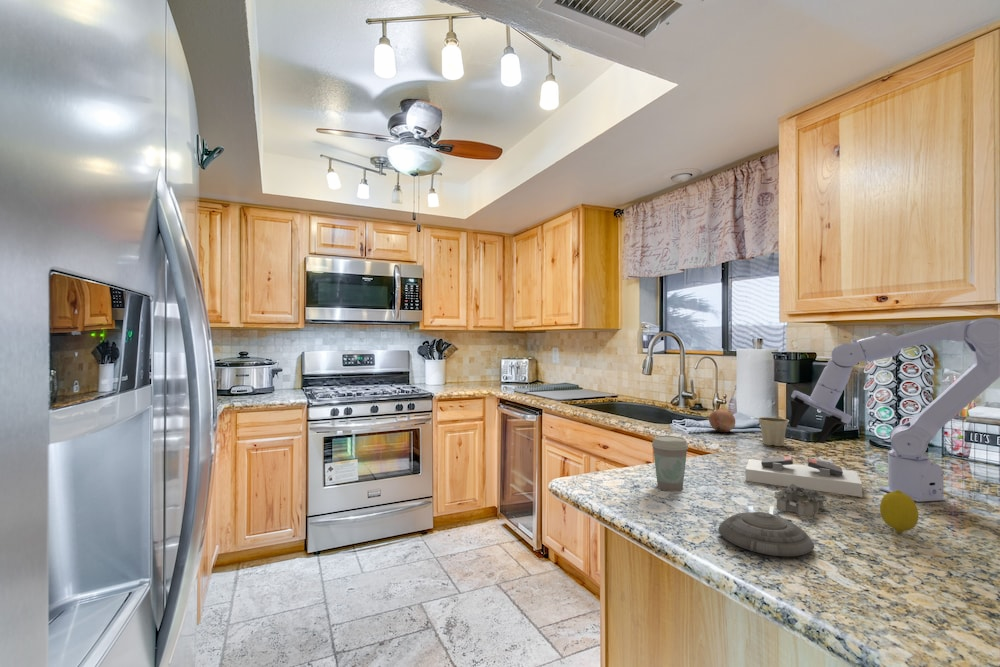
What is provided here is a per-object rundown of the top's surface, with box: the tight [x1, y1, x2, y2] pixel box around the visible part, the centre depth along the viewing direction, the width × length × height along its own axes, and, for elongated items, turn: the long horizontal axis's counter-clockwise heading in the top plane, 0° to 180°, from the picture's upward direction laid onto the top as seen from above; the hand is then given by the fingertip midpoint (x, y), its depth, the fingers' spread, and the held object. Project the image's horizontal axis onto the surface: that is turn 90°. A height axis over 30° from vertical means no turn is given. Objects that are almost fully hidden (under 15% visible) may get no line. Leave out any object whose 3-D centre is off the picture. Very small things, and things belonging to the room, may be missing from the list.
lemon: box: [879, 490, 919, 534], centre depth 90 cm, size 6×6×8 cm
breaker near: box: [807, 457, 843, 476], centre depth 118 cm, size 7×5×2 cm
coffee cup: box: [651, 435, 689, 492], centre depth 117 cm, size 8×8×12 cm
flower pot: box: [757, 416, 790, 447], centre depth 164 cm, size 9×9×9 cm
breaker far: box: [761, 455, 794, 466], centre depth 124 cm, size 7×5×2 cm
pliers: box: [817, 456, 847, 470], centre depth 135 cm, size 10×2×15 cm
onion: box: [708, 407, 736, 434], centre depth 186 cm, size 10×9×10 cm
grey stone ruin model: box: [774, 484, 827, 517], centre depth 103 cm, size 11×8×4 cm
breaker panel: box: [745, 456, 863, 498], centre depth 121 cm, size 24×12×5 cm, turn 58°
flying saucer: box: [717, 511, 815, 557], centre depth 85 cm, size 15×15×6 cm
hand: (806, 434), depth 124 cm, fingers open, 7 cm apart
